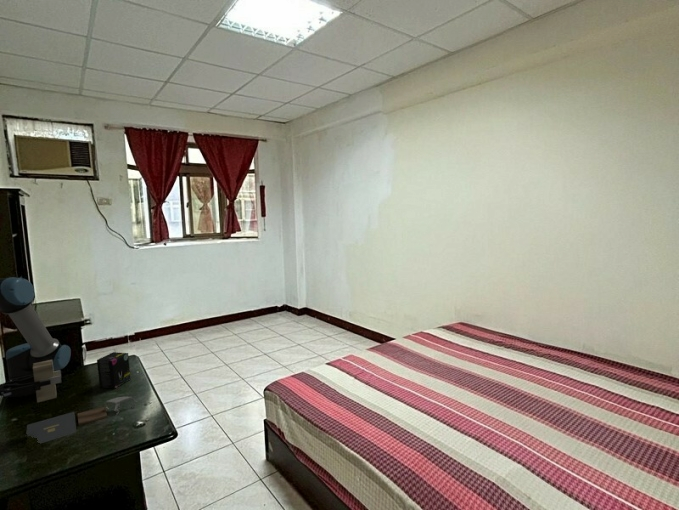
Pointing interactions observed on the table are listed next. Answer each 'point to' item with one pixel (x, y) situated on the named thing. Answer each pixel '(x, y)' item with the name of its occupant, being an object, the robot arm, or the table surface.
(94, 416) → the walnut pad
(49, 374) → the birch block
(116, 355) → the tampon box
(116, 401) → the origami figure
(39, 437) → the tile
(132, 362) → the table surface
